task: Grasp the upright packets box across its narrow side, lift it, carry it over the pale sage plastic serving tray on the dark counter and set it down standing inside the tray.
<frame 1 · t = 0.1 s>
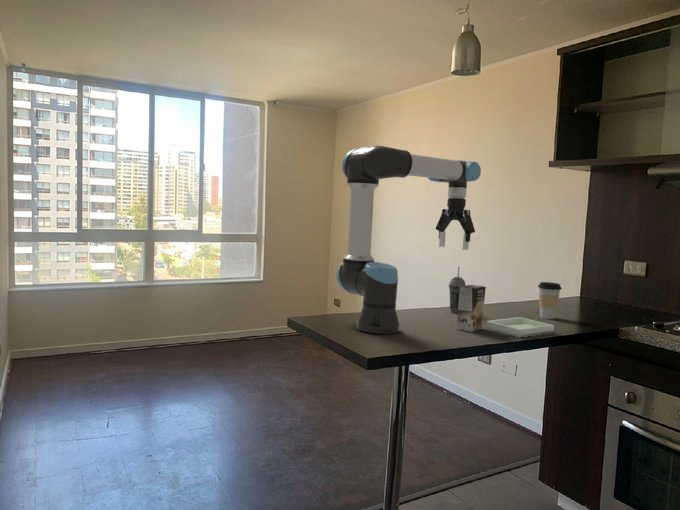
hand: (453, 248, 218), 28 cm above the breakfast bar, fingers open, 13 cm apart
sage tray: (519, 331, 192), on the breakfast bar
beverage cup: (455, 313, 223), on the breakfast bar
coffee cup: (547, 318, 222), on the breakfast bar
coffee box: (469, 329, 192), on the breakfast bar
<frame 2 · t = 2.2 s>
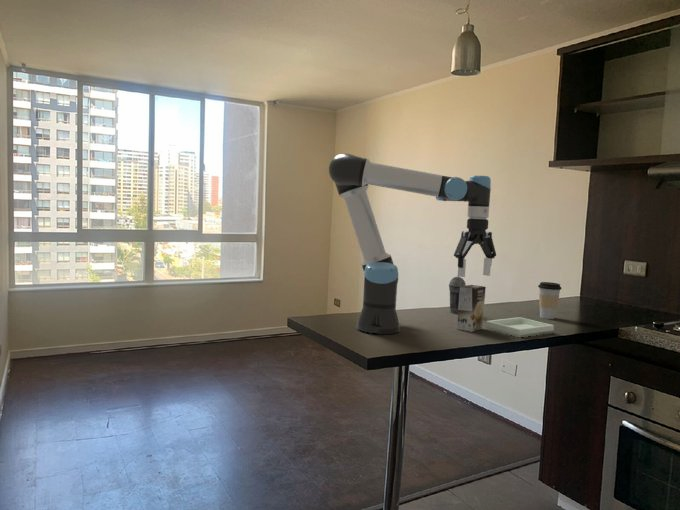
hand: (474, 276, 190), 20 cm above the breakfast bar, fingers open, 13 cm apart
nothing on the breakfast bar moved.
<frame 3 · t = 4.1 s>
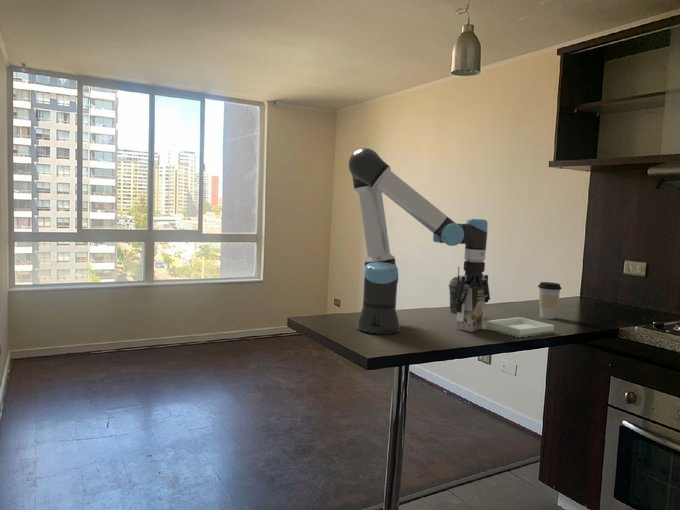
hand: (470, 320, 191), 3 cm above the breakfast bar, fingers closed on coffee box, 10 cm apart
coffee box: (469, 329, 192), on the breakfast bar, touching gripper
everything else where it was.
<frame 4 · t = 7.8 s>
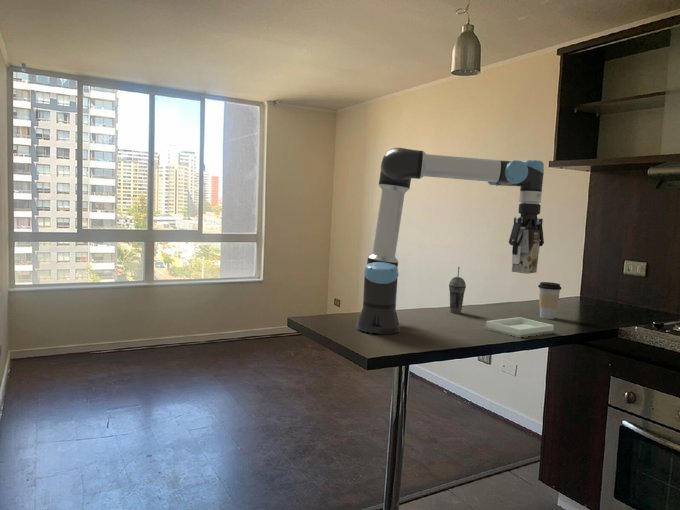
hand: (524, 263, 190), 25 cm above the breakfast bar, fingers closed on coffee box, 10 cm apart
coffee box: (524, 272, 190), point 22 cm above the breakfast bar, touching gripper
everything else where it was.
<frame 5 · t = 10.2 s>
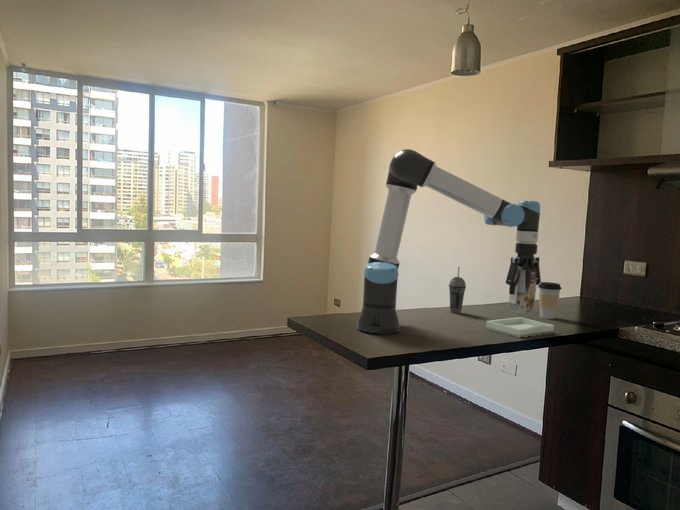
hand: (521, 302, 191), 11 cm above the breakfast bar, fingers closed on coffee box, 10 cm apart
coffee box: (521, 311, 192), point 7 cm above the breakfast bar, touching gripper
everything else where it was.
when the fingers open (6 cm above the breakfast bar, at t = 11.9 s): coffee box drops 1 cm, resting on sage tray.
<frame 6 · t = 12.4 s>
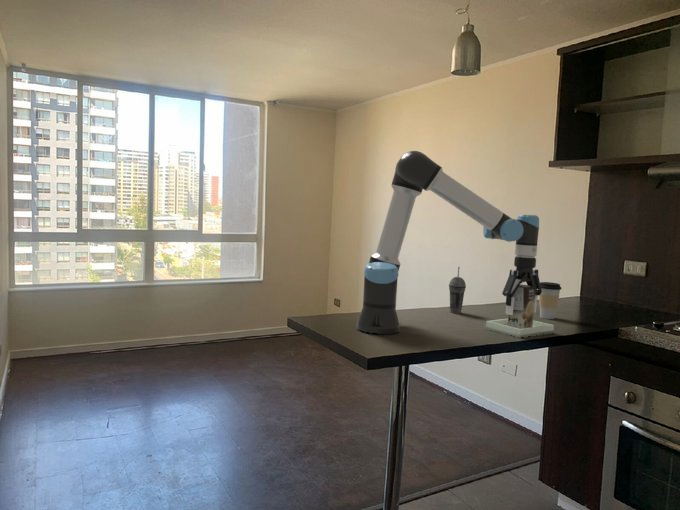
hand: (520, 313, 192), 7 cm above the breakfast bar, fingers open, 13 cm apart
coffee box: (519, 328, 192), point 1 cm above the breakfast bar, touching sage tray
everything else where it was.
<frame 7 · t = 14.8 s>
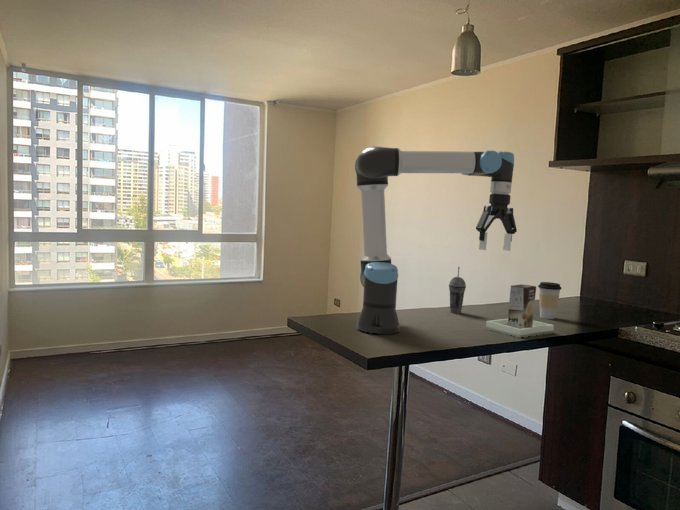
hand: (494, 250, 195), 29 cm above the breakfast bar, fingers open, 13 cm apart
nothing on the breakfast bar moved.
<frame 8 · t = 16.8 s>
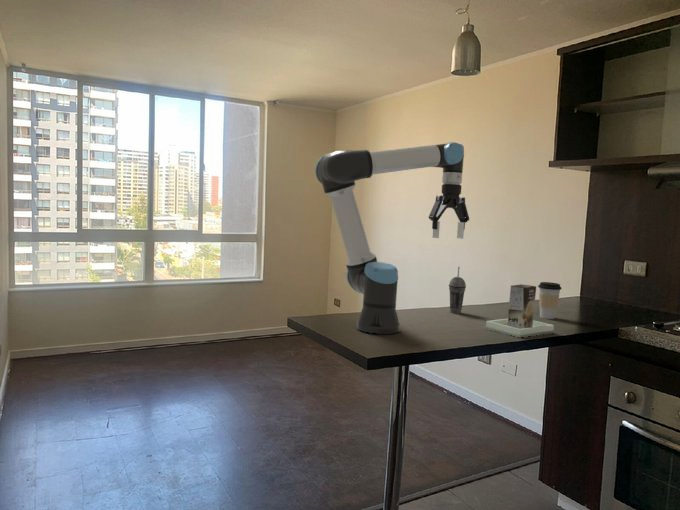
hand: (448, 238, 203), 33 cm above the breakfast bar, fingers open, 13 cm apart
nothing on the breakfast bar moved.
at the end: coffee box inside the target area on the sage tray (0.2 cm from its centre), point 0.8 cm above the sage tray's base; coffee box tilted 0°; the gripper is holding nothing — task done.
